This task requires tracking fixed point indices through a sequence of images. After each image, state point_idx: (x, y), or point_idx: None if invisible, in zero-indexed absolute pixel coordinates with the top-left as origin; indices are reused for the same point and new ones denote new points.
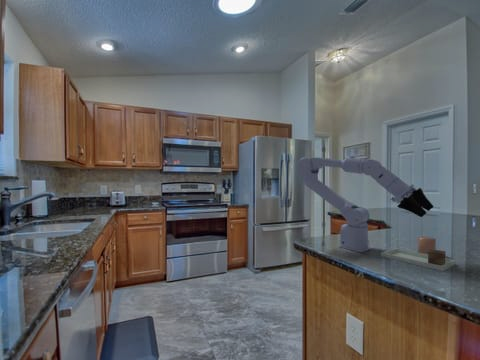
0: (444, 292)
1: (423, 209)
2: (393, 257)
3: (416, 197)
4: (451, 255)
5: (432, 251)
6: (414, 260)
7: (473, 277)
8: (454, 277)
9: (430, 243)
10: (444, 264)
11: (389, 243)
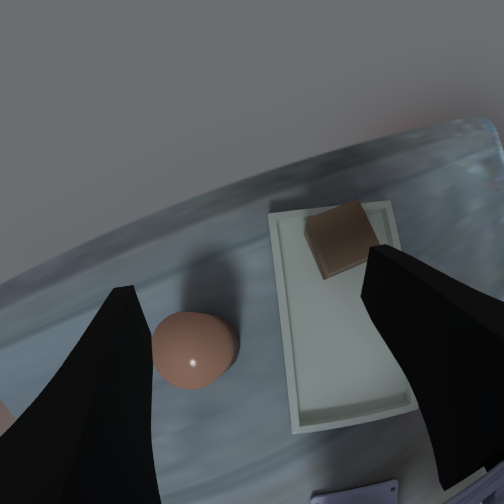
0: (482, 160)
1: (402, 260)
2: None
3: (130, 499)
4: None
5: (362, 243)
6: None
7: (330, 155)
8: (380, 180)
9: (217, 321)
10: None
11: None
